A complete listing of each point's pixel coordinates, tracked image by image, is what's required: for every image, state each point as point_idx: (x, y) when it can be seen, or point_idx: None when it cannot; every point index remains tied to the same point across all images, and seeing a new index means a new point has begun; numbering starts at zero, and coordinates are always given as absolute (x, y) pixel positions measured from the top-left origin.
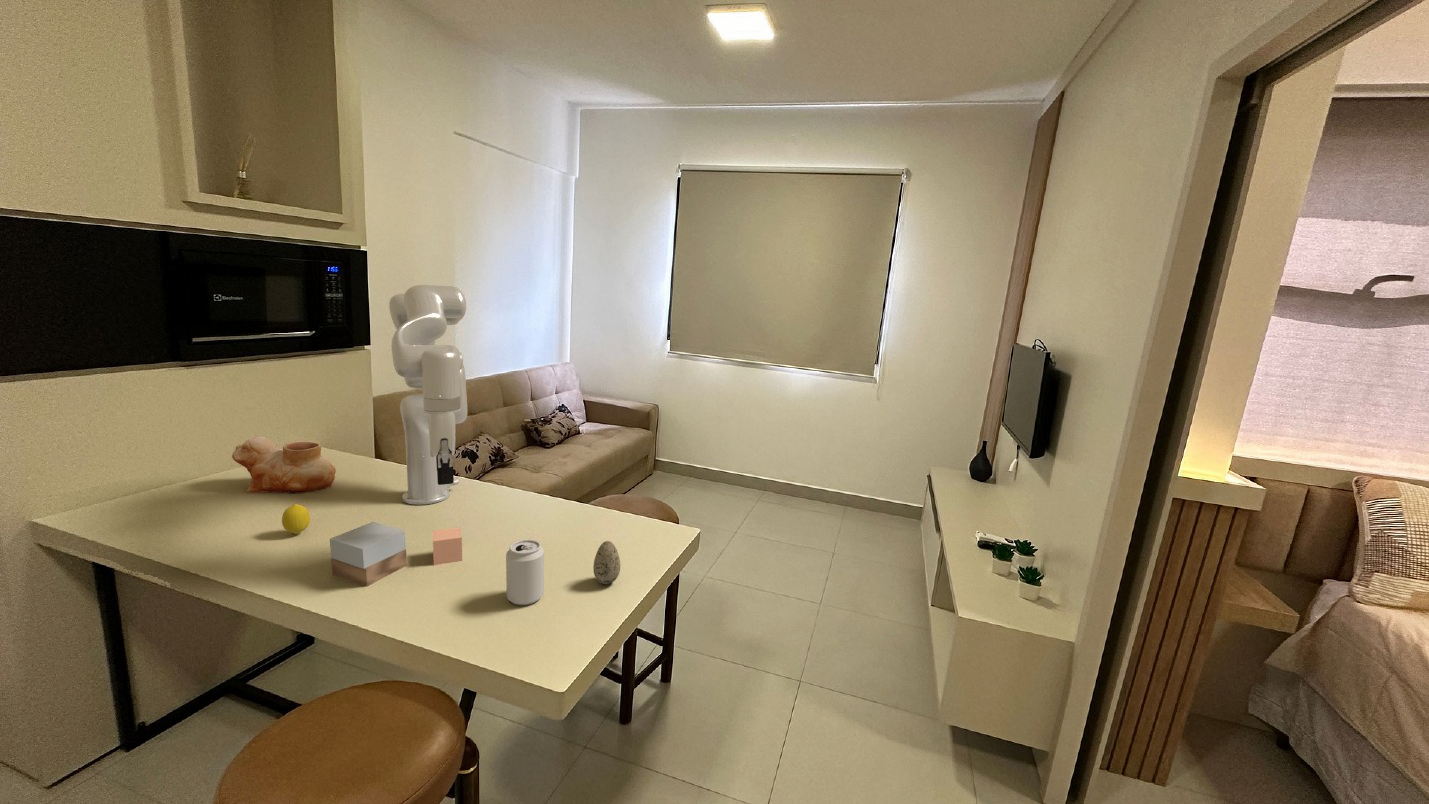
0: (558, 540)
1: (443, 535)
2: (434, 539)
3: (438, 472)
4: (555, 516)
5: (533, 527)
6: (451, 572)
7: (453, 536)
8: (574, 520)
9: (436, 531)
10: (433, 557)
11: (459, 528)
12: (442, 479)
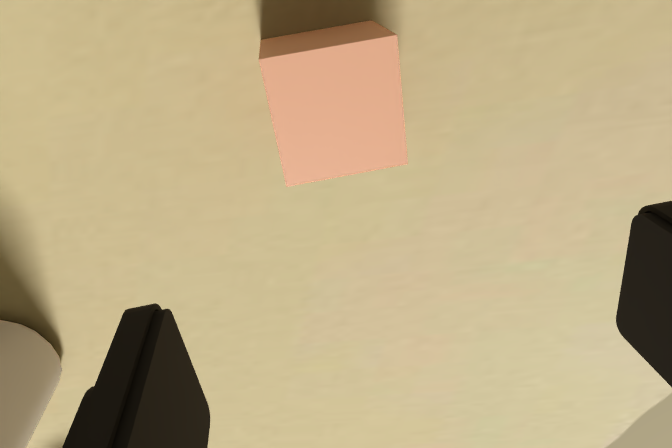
0: (374, 405)
1: (324, 101)
2: (282, 63)
3: (84, 444)
4: (555, 388)
5: (494, 338)
6: (188, 119)
7: (303, 150)
8: (503, 433)
9: (383, 58)
10: (260, 45)
11: (393, 163)
12: (86, 406)
